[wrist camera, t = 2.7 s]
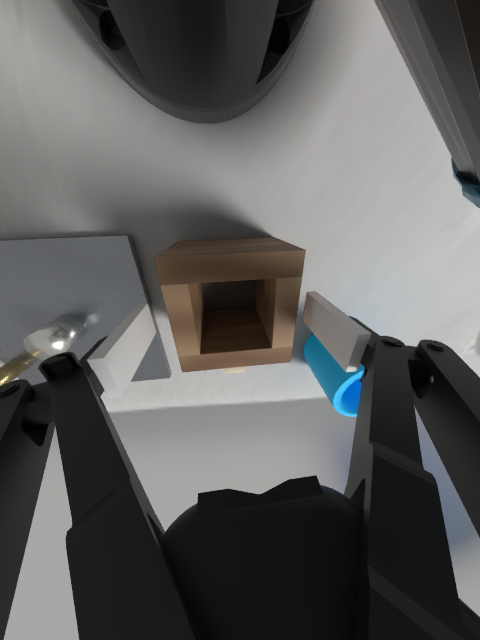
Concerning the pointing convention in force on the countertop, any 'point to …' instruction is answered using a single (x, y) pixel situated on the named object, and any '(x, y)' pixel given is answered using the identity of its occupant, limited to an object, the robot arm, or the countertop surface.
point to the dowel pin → (11, 371)
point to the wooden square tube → (231, 324)
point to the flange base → (70, 300)
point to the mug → (334, 377)
